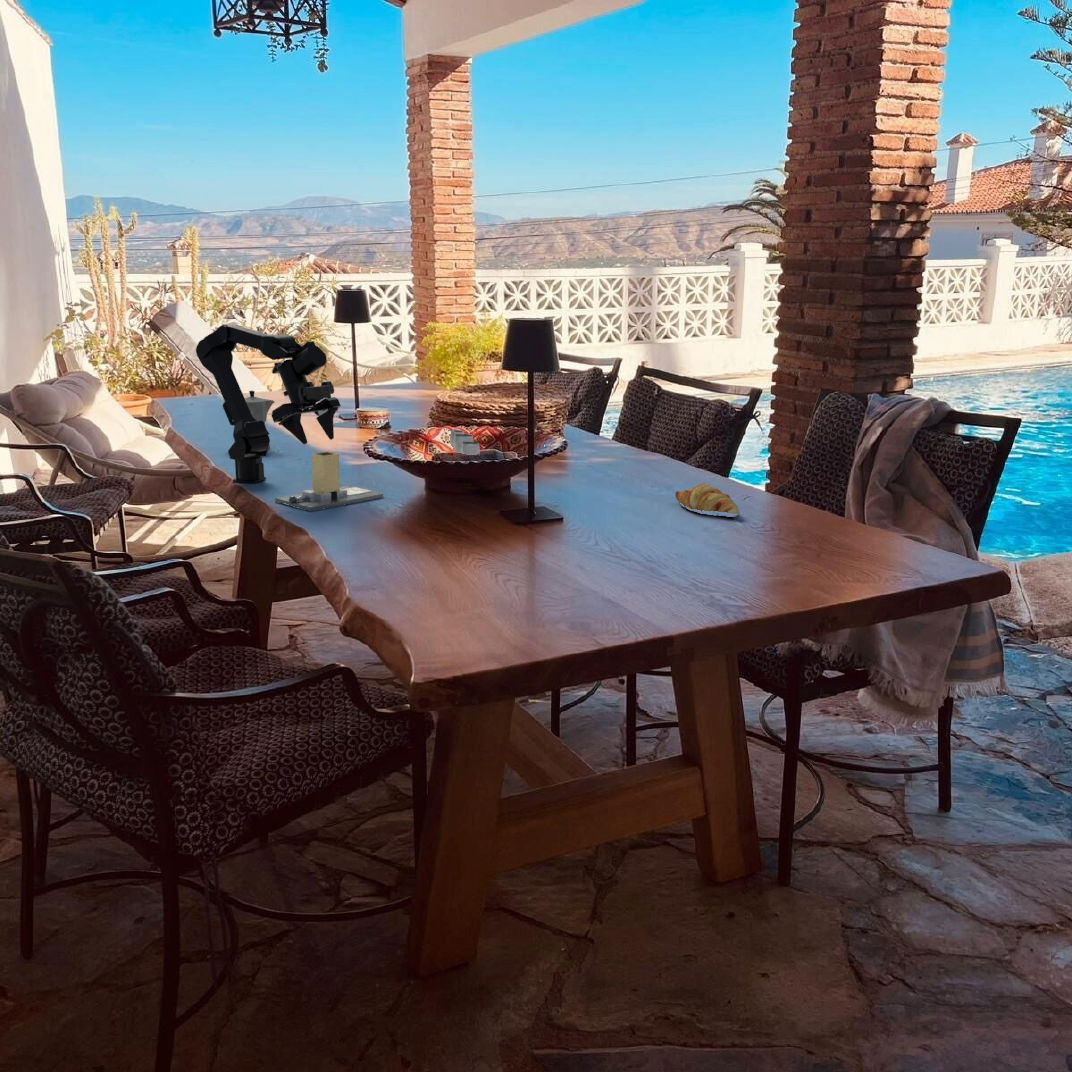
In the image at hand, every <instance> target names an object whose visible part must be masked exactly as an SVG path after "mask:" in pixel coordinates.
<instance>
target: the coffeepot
mask: <svg viewBox="0 0 1072 1072" xmlns="http://www.w3.org/2000/svg"><path fill="white" fill-rule="evenodd" d="M248 392H249V395H250V396H247V397H244V398H245V401H246V403H247V405H248V407H249V410H250V412H251V414H252V417H253V418H254V419H255V420H257V421H261V420H262V421H263V422H264V423H266V422H267V416H268V413H269V412H270V409H271V408H272V406H273V404H275V403H276V402H275V401H274V400H272V399H269V398H268V399H267V398H262V397H261V398H260V397H257V396H255V392H256V391H254V390H249V391H248ZM222 409H223V410H224V414H225V416H226V418H227V421H228V422H229V425H230V426H234V422H233V419H232V417H231V415H230V412H229V410H228V408H227V405H226V403H225V401H224V402H223V404H222ZM270 449H271V445H270V443H269V446H268V450H270Z"/></svg>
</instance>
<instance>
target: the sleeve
mask: <svg viewBox="0 0 1072 1072" xmlns="http://www.w3.org/2000/svg"><path fill="white" fill-rule="evenodd" d="M311 473H312V475H311V477H312V490H314V491H318V492H322V493H329V492H334V491H340V487H341V486H340V485H341V483H340V482H341V481H340V454H339V453H336V452H332V451H320V452H316V453H315V452H314V453H311Z"/></svg>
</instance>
